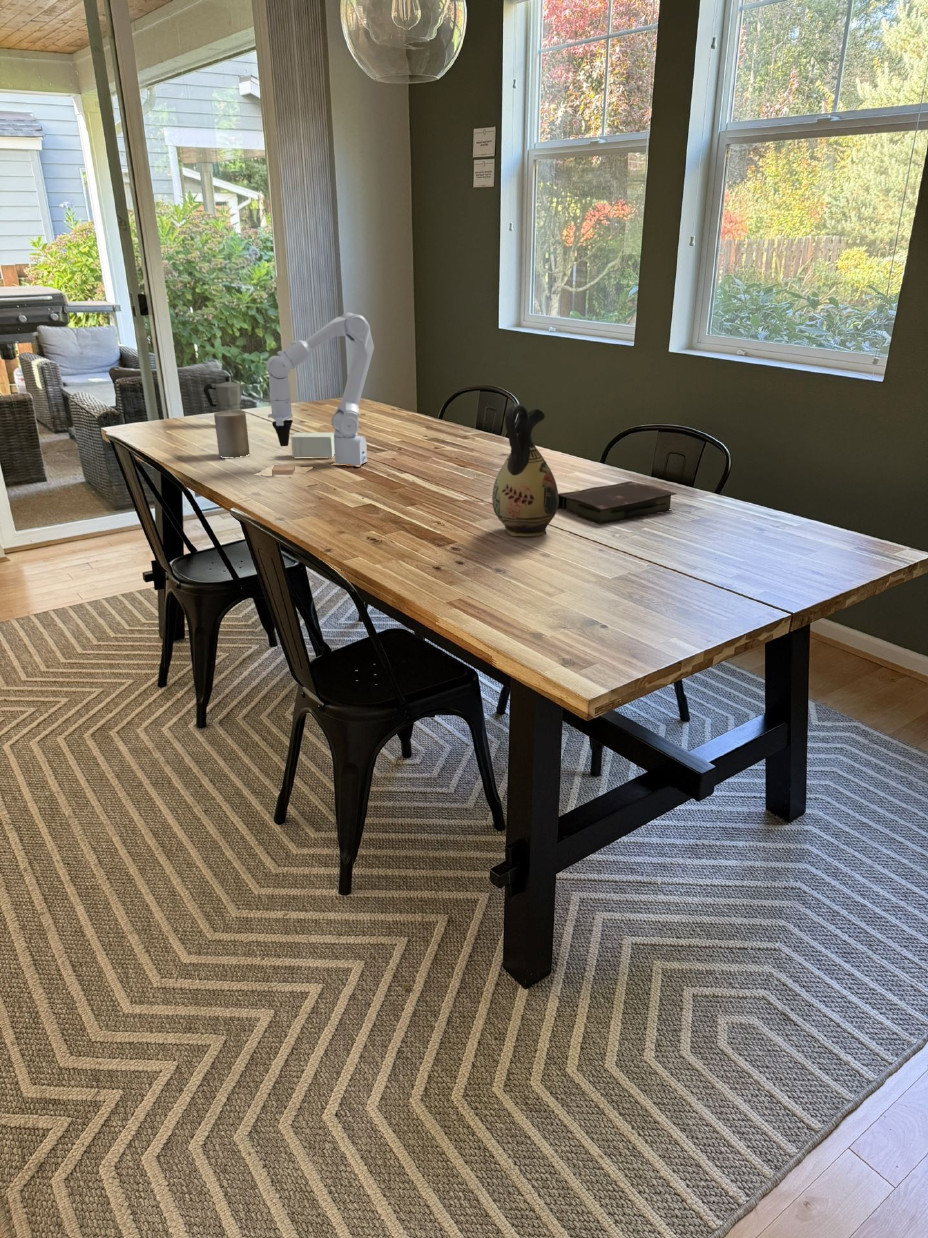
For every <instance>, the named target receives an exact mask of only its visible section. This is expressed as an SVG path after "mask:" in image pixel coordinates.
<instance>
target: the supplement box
mask: <svg viewBox="0 0 928 1238" xmlns="http://www.w3.org/2000/svg"><path fill="white" fill-rule="evenodd" d="M290 438H291V439H290V441H291V442H290V443H291V452H292V453H291V455H292V458H293V457H328V458H331V457H333V456H334V454H335V450H334V432H295V433H294V434H293V435H291V436H290ZM334 457H335V456H334ZM334 457H333V458H334Z"/></svg>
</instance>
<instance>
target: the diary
mask: <svg viewBox="0 0 928 1238" xmlns="http://www.w3.org/2000/svg"><path fill="white" fill-rule="evenodd" d="M677 494H678V493H677V492H675V491H671V490H667V489H665V488H660V487H658V486H655V485H654V486H653V485H650V484H645V483H640V482H635V481H631V480H629V481H624V482H620V483H616V484H610V485H603V486H594V487H590V488H589V487H588V488H585V489H581V490H576V491H569V492H568V491H567V492H558V496H559V503H558V508H557V510H560V509H561V511H566V512H569V513H572V514H574V515H575V516H576V517H577V518H581V520H585V521H588V522H590V523H592V524H596V525H608V524H613V523H617V522H618V523H619V522H624V521H627V520H628V521H629V520H632V519H636V518H643V516H644V517H649V516H650V515H654V514H658V513H657V512H663V513H666V512H665V511H669V512H673V511H672V510H669V509H673V510H674V508H671V502H672V496H674V495H675V496H676V495H677ZM674 511H675V510H674ZM648 514H650V515H648Z"/></svg>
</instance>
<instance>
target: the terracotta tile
mask: <svg viewBox="0 0 928 1238" xmlns="http://www.w3.org/2000/svg"><path fill="white" fill-rule="evenodd" d="M295 465H296V464H283V465H274V467H273V469H272V476H275V475H293V474H294V471H295Z"/></svg>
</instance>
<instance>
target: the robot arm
mask: <svg viewBox="0 0 928 1238" xmlns="http://www.w3.org/2000/svg"><path fill="white" fill-rule="evenodd" d="M334 337H347V338H348V339H349V340H350V342H351V344H352V345H353V347H354V348H355V349H354V352H353V353H354V354H353V357H352V361H351V363H350V364H351V365H350V369H349V372H348V376H347V380H346V384H345V387H344V391H343V395H342V399H341V401H340V403H339V404H338V405H337V409H336V411H335V412H334V413H333V415H332V417H331V421H330V422H331V427H332V428H333V429H334V432H333V433H334V450H335V456H334V462H335V463H339V464H352V465H361V464H362V463H365V462H367V461H368V450H367V449H368V448H367V439H366V437H365V436H362V435H361V436H360V435H358V431H359V429H360V423H359V417H360V410H359V408H360V407H359V405H360V401H361V397H362V393H363V390H364V388H365V387H364V386H365V383H366V379H367V376H368V375H367V374H368V371H369V368H370V364H371V360H372V356H373V353H374V350H375V345H374V342H373V337H372V334H371V324H369V323H368V321H367V319H366V318H365V317H364V316H363V315H361V314H355V313H353V312H348V311H347V312H344V313H342V314H341V316H337V317H335V318H334V319H332V320H331V321H330V322H328V323H327V324H326V325H324V326H322V327H321V328H320V329H319V330H318V331H316V332H315V333H313V334H312V335H311V336H309V337H308V338H307V339H306V340H300V339H298V340H292V341H290V345H289V346H288V347H286V348H284V349H283V350H282V351H281V350H279V351H277V352H276V353H277V355H273V356H271V357H269V358H268V359H267V362H266V364H265V370H266V372H267V373H268V380H269V383H268V386H269V395H270V405H271V406H270V408H271V413H269V414H267V418H271V419H273V420H274V421H272V424H271V425H272V427H273V428H274V431H275V433H276V435H277V439H278V442H279V445H280V447H288V446H289V442H290V435H291V434H290V433H291V428H292V425H293V419H291V418H293V412H292V400H291V390H290V389H291V388H290V382H289V376H290V373H291V370H294V369H295V368H297V367H298V366H300V365H301V364H303V363H304V362H305V361H307V360H309V359H310V358H311V356H312V355H311V354H312V351H314V350H315V349H317V348H318V347H320V346H322V345H323V344H325V343H326V342H328V341H330V340H332V339H333V338H334Z"/></svg>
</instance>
